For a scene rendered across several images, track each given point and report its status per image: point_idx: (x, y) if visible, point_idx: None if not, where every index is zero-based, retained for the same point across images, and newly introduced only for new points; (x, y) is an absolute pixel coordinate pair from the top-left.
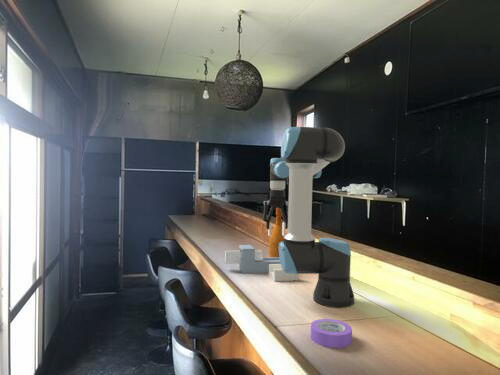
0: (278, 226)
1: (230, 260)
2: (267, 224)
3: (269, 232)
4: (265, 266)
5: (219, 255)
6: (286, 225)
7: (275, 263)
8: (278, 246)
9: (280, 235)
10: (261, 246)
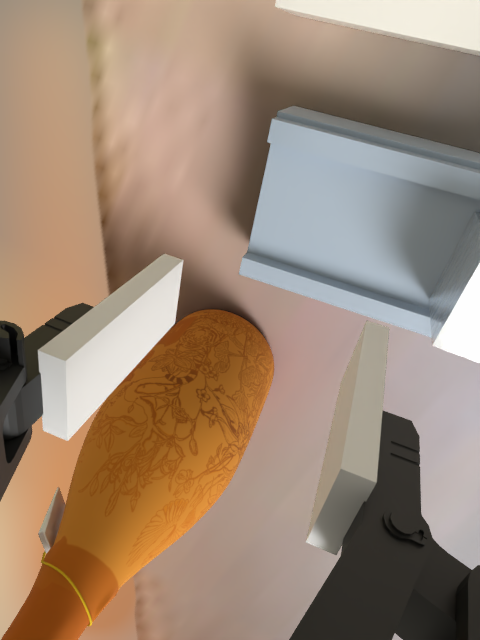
0: (101, 544)
1: None
2: (409, 489)
3: (386, 359)
4: (472, 159)
5: None
6: (49, 332)
7: (376, 142)
8: (202, 380)
9: (139, 445)
10: (167, 602)
